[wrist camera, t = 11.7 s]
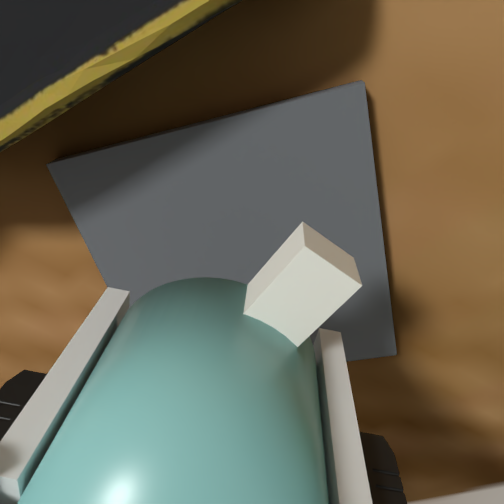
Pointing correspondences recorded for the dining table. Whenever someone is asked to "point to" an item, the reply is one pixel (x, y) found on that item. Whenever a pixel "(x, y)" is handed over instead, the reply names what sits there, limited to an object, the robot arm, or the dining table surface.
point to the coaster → (240, 203)
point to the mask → (80, 50)
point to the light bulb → (207, 392)
